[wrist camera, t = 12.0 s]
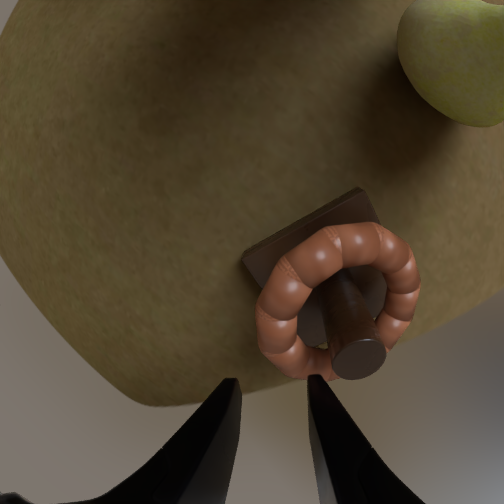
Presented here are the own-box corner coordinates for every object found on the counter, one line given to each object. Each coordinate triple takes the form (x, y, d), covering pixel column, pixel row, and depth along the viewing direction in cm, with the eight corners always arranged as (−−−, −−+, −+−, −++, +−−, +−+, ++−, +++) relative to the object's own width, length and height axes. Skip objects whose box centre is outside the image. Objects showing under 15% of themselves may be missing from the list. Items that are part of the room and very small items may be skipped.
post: (304, 338, 17) (310, 433, 10) (243, 251, 15) (216, 334, 9) (402, 288, 15) (454, 368, 8) (358, 186, 13) (423, 226, 7)
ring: (304, 385, 14) (313, 407, 12) (215, 293, 11) (217, 316, 9) (418, 304, 13) (435, 320, 11) (373, 182, 10) (396, 189, 9)
